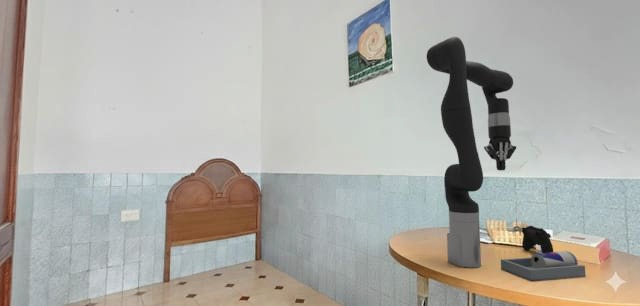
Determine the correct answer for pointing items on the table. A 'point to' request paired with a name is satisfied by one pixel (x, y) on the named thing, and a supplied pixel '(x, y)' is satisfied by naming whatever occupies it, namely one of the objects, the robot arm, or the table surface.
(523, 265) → the tray
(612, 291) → the table surface
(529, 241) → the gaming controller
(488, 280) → the table surface
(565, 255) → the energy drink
